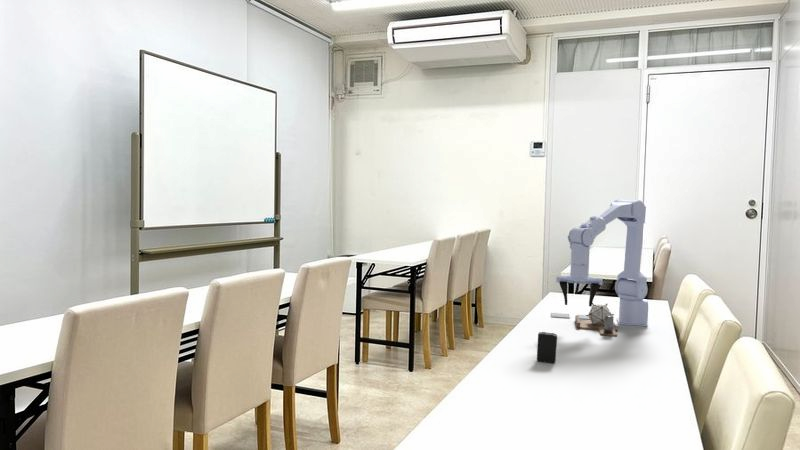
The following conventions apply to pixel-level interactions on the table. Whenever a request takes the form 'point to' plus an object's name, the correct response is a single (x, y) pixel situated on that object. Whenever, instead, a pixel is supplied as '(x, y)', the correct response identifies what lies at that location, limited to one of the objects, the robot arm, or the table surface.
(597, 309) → the game die
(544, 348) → the ink cartridge
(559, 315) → the broken grey strip
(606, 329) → the brown base with post
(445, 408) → the table surface
